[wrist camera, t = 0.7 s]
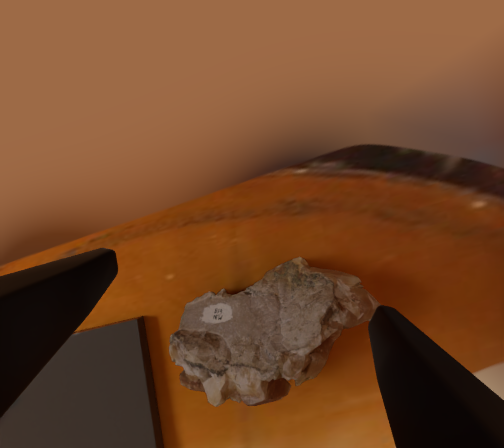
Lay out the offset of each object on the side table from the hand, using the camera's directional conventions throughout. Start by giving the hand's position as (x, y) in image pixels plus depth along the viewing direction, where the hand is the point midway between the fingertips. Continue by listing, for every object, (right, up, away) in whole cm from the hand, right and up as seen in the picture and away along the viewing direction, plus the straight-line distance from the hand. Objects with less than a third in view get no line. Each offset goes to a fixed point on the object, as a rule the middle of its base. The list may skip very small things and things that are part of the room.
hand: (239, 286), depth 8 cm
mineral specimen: (+2, -7, +14) cm, 16 cm away
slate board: (-15, -17, +13) cm, 26 cm away
